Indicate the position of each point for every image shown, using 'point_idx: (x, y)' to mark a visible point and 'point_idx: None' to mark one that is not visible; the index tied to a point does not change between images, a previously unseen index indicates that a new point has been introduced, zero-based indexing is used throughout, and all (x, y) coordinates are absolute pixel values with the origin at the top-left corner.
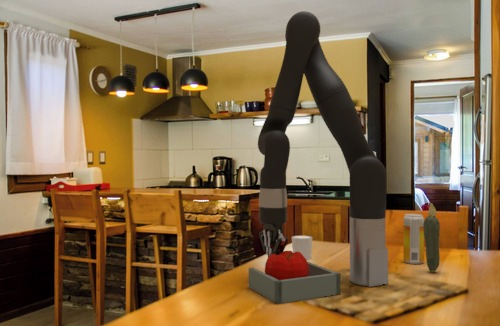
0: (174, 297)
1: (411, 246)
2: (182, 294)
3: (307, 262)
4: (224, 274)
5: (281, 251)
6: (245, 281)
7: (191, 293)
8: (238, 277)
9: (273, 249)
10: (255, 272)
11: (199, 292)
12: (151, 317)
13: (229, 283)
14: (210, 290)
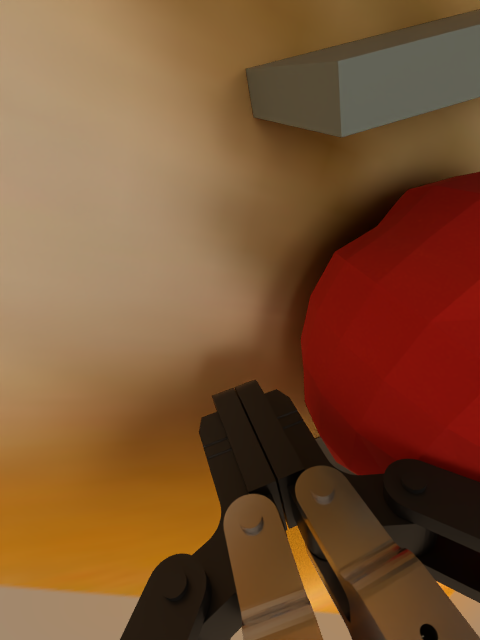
0: (331, 604)
1: None
2: (310, 600)
3: (404, 81)
4: (16, 583)
5: (460, 493)
6: (194, 479)
7: (309, 587)
8: (97, 518)
9: (437, 576)
10: None
11: (307, 574)
12: (444, 587)
13: (216, 528)
14: (296, 557)
